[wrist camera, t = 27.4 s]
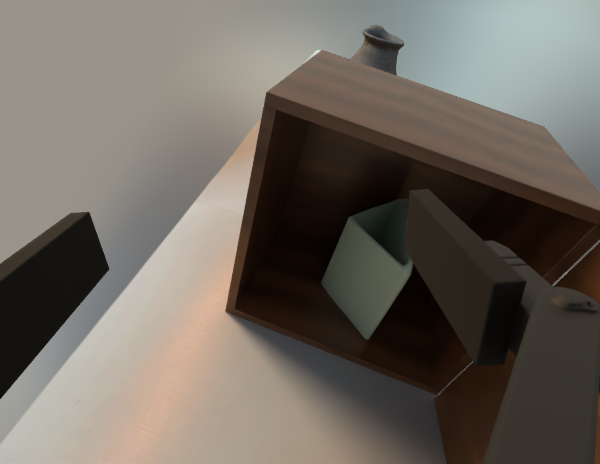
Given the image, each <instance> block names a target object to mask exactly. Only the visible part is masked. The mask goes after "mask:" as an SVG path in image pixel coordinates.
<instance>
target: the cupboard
mask: <svg viewBox="0 0 600 464" xmlns="http://www.w3.org/2000/svg"><path fill="white" fill-rule="evenodd" d="M423 189H429V190H430V191H431V192H432V193H433V194H434V195H435V196H436V197H437V198H438V199H439V200H440V201H442V202H443V203H444V204H445V205H446V206H447V207H448V208H449V209H450V210H451V211H452V212H453V213H454V214H455V215H456V216H458V217H459V218H460V219H461V220H462V221H463V222H464V223H465V224H466V225H467V226H468V227H469V228H470V229H471V230H472V231H474V232H475V233H476V234H477V235H478V236H479V237H480V238H481V239H482V240H483V241H495V242H497V243H499V244H501V245H503V246H506V247H508V248H509V249H510V250H511V251H512V252H514V253H515V254H516V255H517V256H518V258H521V259H522V260H523V261H524V262H525V263H526V265H529V266H530V267H531V268H532V269H533V270H534V271H536V272H537V273H538V274H539V275H540V276H541V277H542V278H544V279H545V280H546V281H547V282H548V283H549V284H551V285H552V284H553V283H555V282H556V281H557V280H558V279H559V278H560V277H561V276H562V275H563V274H564V273H565V272H566V271H567V270H568V269H569V268H570V267H571V266H572V265H573V264H574V263H575V262H576V261H578V260H579V259H580V258H581V257H582V256H583V255H584V254H585V253H586V252H587V251H588V250H589V249H590V248H591V247H592V246H593V245H594V244H595V243H596V242H597V241H598V240H600V192H599V191H598V190H597V189H596V187H595V186H594V185H593V184H592V183H591V182H590V180H589V179H588V178H587V177H586V176H585V174H584V173H583V172H582V171H581V170H580V169H579V167H578V166H577V165H576V164H575V163H574V161H573V160H572V159H571V158H570V157H569V156H568V154H567V153H566V152H565V151H564V150H563V148H562V147H561V146H560V145H559V144H558V142H557V141H556V140H555V139H554V138H553V137H552V135H551V134H550V133H549V132H548V131H547V129H546V128H545V127H544V126H541V125H538V124H535V123H532V122H529V121H526V120H523V119H520V118H518V117H515V116H512V115H509V114H506V113H503V112H500V111H497V110H494V109H491V108H489V107H486V106H483V105H480V104H477V103H474V102H471V101H468V100H465V99H463V98H460V97H457V96H454V95H451V94H448V93H445V92H442V91H439V90H437V89H434V88H431V87H428V86H425V85H422V84H419V83H416V82H413V81H410V80H408V79H404V78H402V77H399V76H396V75H393V74H390V73H387V72H384V71H382V70H379V69H376V68H373V67H370V66H367V65H364V64H361V63H358V62H355V61H353V60H350V59H346V58H344V57H341V56H338V55H335V54H332V53H329V52H326V51H323V50H321V51H320V52H319V53H317V54H316V55H315V56H314V57H312V58H311V59H310V60H308V61H307V62H306V63H304V64H303V65H302V66H300V67H299V68H298V69H296V70H295V71H294V72H292V73H291V74H290V75H289V76H287V77H286V78H285V79H283V80H282V81H281V82H279V83H278V84H277V85H275V86H274V87H273V88H271V89H270V90H269V91H267V93H266V97H265V103H264V108H263V113H262V118H261V124H260V129H259V134H258V140H257V145H256V150H255V156H254V161H253V167H252V172H251V177H250V183H249V188H248V193H247V199H246V204H245V209H244V215H243V220H242V225H241V231H240V236H239V241H238V247H237V252H236V257H235V263H234V268H233V274H232V279H231V284H230V290H229V295H228V300H227V306H226V311H227V312H229V313H232V314H234V315H237V316H239V317H242V318H244V319H247V320H249V321H252V322H254V323H257V324H259V325H262V326H264V327H267V328H269V329H272V330H274V331H277V332H279V333H282V334H284V335H287V336H289V337H292V338H295V339H297V340H300V341H302V342H305V343H307V344H310V345H312V346H315V347H317V348H320V349H322V350H325V351H327V352H330V353H332V354H335V355H337V356H340V357H342V358H345V359H347V360H350V361H352V362H355V363H357V364H360V365H362V366H365V367H368V368H370V369H373V370H375V371H378V372H380V373H383V374H385V375H388V376H390V377H393V378H395V379H398V380H400V381H403V382H405V383H408V384H410V385H413V386H415V387H418V388H420V389H423V390H425V391H428V392H430V393H433V394H436V395H437V394H438V393H439V392H440V391H441V390H442V389H443V388H444V387H445V386H446V385H448V384H449V383H450V382H451V381H452V380H453V379H454V378H455V377H456V376H457V375H458V374H459V373H460V372H461V371H462V370H463V369H464V368H465V367H466V366H467V365H469V364H470V363H471V362H472V361H473V360H472V358H471V357H470V355H469V353H468V352H467V350H466V349H465V347H464V345H463V344H462V342H461V340H460V339H459V337H458V335H457V334H456V332H455V331H454V329H453V327H452V326H451V324H450V322H449V321H448V319H447V317H446V316H445V314H444V313H443V311H442V309H441V308H440V306H439V304H438V303H437V301H436V299H435V298H434V296H433V295H432V293H431V291H430V290H429V288H428V286H427V285H426V283H425V281H424V280H423V278H422V276H421V275H420V273H419V272H418V270H417V268H416V267H415V265H414V263H413V268H412V272H411V275H410V277H409V279H408V280H407V282H406V283H405V285H404V287H403V288H402V290H401V291H400V293H399V294H398V296H397V297H396V299H395V300H394V302H393V303H392V305H391V307H390V308H389V310H388V311H387V313H386V314H385V316H384V317H383V319H382V320H381V322H380V323H379V325H378V326H377V328H376V330H375V331H374V333H373V334H372V336H371V337H370V339H369V340H367V339H365V338H364V337H363V336H362V335H361V333H360V332H359V331H358V329H357V328H356V327H355V326H354V324H353V323H352V322H351V321H350V319H349V318H348V317H347V316H346V315H345V313H344V312H343V311H342V310H341V309H340V308H339V306H338V305H337V304H336V303H335V302H334V300H333V299H332V298H331V297H330V295H329V294H328V293H327V291H326V290H325V288H324V287H323V285H322V284H321V281H322V279H323V277H324V275H325V272H326V270H327V267H328V265H329V263H330V260H331V258H332V256H333V253H334V251H335V249H336V246H337V244H338V242H339V239H340V237H341V235H342V232H343V230H344V228H345V225H346V223H347V221H348V218H349V217H350V216H352V215H355V214H357V213H359V212H362V211H365V210H368V209H371V208H374V207H377V206H380V205H383V204H386V203H389V202H392V201H394V200H396V199H403V198H409V193H410V190H423Z"/></svg>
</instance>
